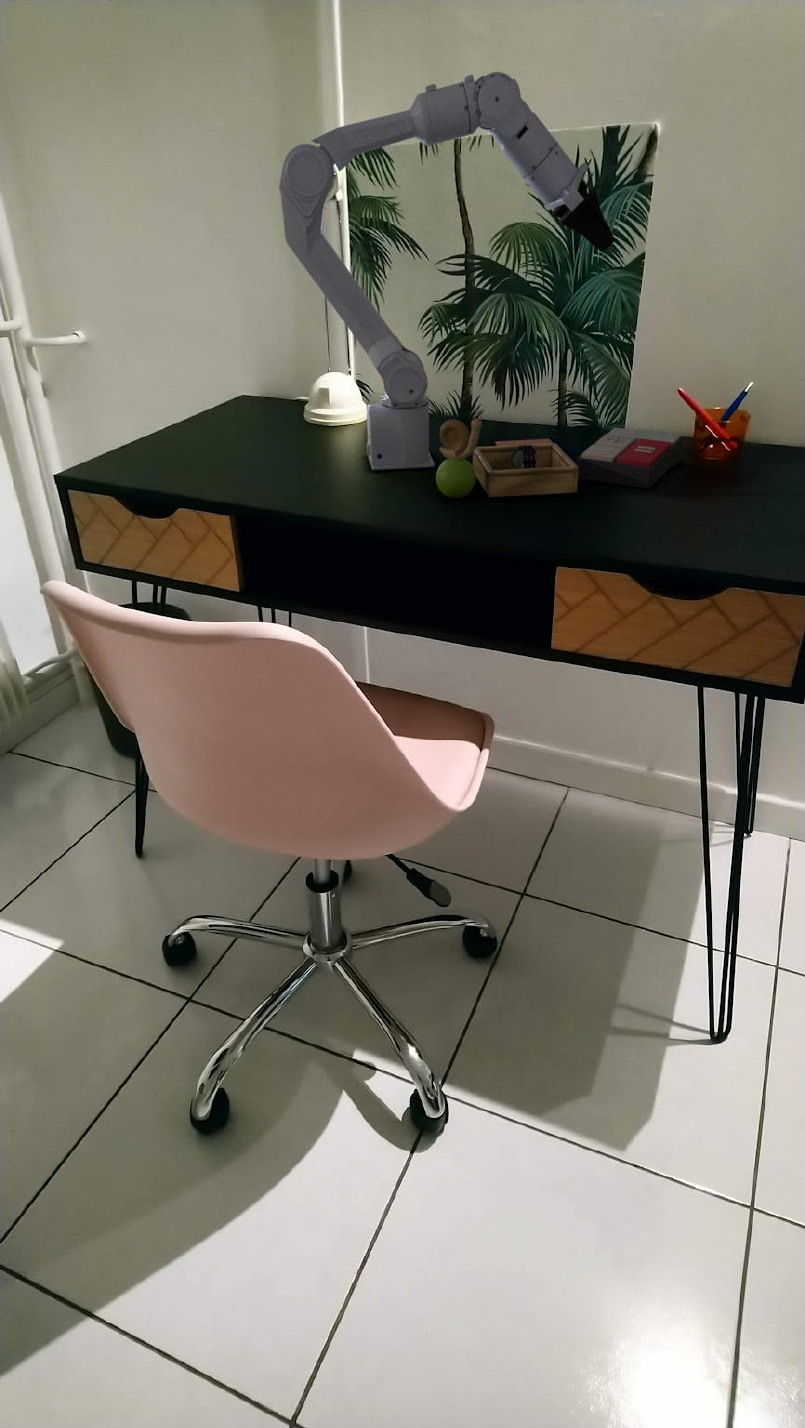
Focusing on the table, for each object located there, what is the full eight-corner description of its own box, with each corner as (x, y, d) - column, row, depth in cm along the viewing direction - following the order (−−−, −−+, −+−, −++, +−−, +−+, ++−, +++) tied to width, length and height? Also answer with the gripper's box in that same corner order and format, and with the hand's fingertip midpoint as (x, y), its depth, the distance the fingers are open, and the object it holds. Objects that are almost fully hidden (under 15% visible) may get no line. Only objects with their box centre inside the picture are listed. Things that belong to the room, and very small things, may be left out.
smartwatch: (540, 476, 130) (542, 442, 127) (533, 487, 125) (535, 452, 123) (512, 474, 131) (513, 440, 128) (505, 485, 126) (506, 450, 124)
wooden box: (488, 497, 122) (489, 472, 120) (472, 470, 133) (472, 447, 131) (577, 492, 123) (579, 467, 121) (554, 466, 134) (555, 442, 132)
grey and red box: (576, 452, 126) (613, 423, 137) (574, 482, 129) (610, 451, 139) (652, 463, 122) (684, 431, 132) (648, 493, 124) (680, 460, 134)
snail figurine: (469, 507, 119) (471, 415, 113) (428, 499, 122) (428, 409, 116) (488, 495, 123) (491, 406, 116) (448, 488, 126) (448, 400, 119)
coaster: (506, 459, 137) (506, 457, 137) (494, 443, 145) (495, 441, 145) (563, 456, 138) (563, 453, 138) (549, 441, 146) (549, 438, 145)
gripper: (571, 137, 109) (637, 226, 115) (557, 131, 121) (618, 211, 127) (527, 184, 112) (594, 268, 118) (517, 174, 124) (579, 250, 130)
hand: (604, 242), depth 122 cm, fingers open, 7 cm apart
